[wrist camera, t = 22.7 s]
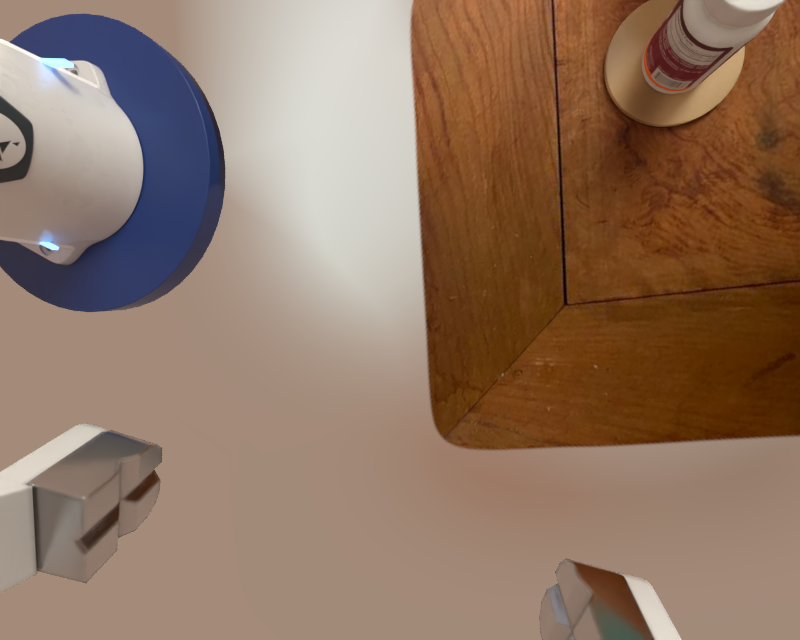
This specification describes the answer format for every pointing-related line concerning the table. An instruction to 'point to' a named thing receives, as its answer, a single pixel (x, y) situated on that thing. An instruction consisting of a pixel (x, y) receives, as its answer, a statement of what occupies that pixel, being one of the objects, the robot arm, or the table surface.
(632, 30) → the coaster
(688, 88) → the pill bottle
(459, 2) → the table surface
